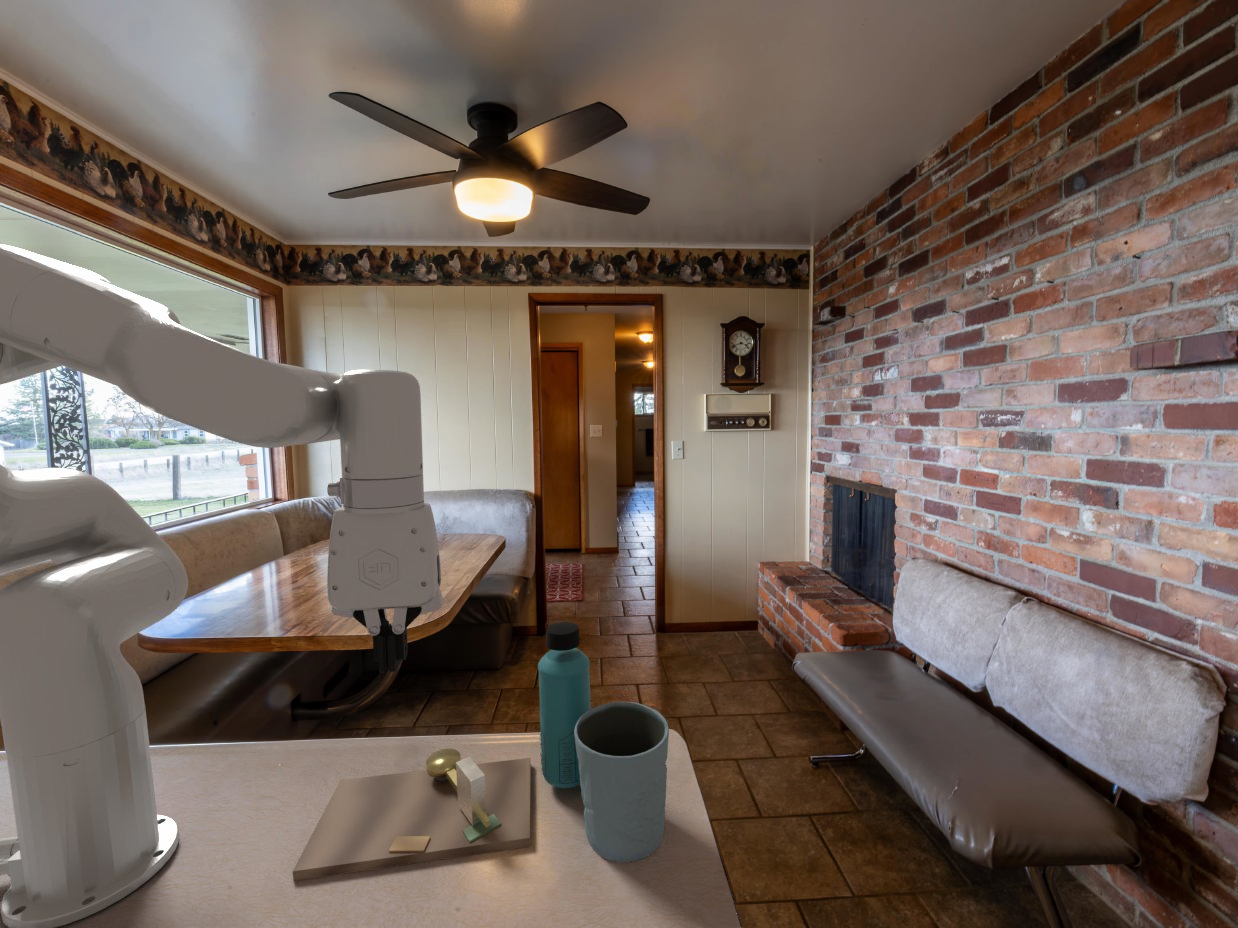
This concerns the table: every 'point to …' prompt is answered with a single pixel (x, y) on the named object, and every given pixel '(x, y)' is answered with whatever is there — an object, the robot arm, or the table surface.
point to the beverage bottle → (562, 703)
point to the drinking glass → (623, 778)
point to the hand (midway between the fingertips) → (391, 665)
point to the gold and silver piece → (462, 782)
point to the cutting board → (415, 821)
